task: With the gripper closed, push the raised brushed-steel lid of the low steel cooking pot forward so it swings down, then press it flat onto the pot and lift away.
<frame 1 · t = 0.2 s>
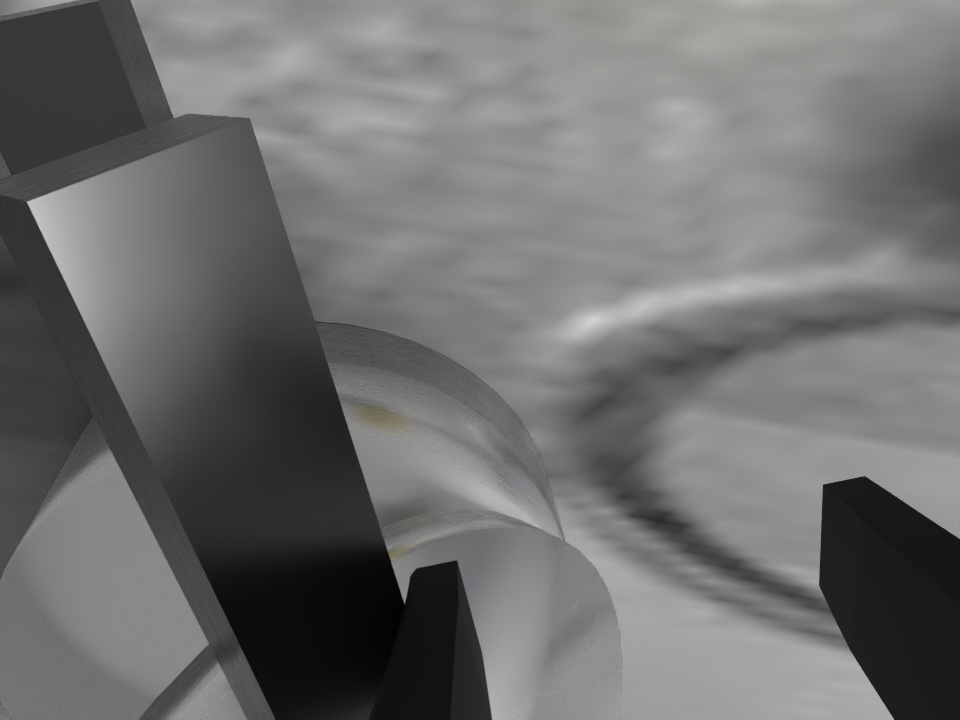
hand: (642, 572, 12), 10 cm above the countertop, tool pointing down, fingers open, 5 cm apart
pot: (316, 534, 24), on the countertop
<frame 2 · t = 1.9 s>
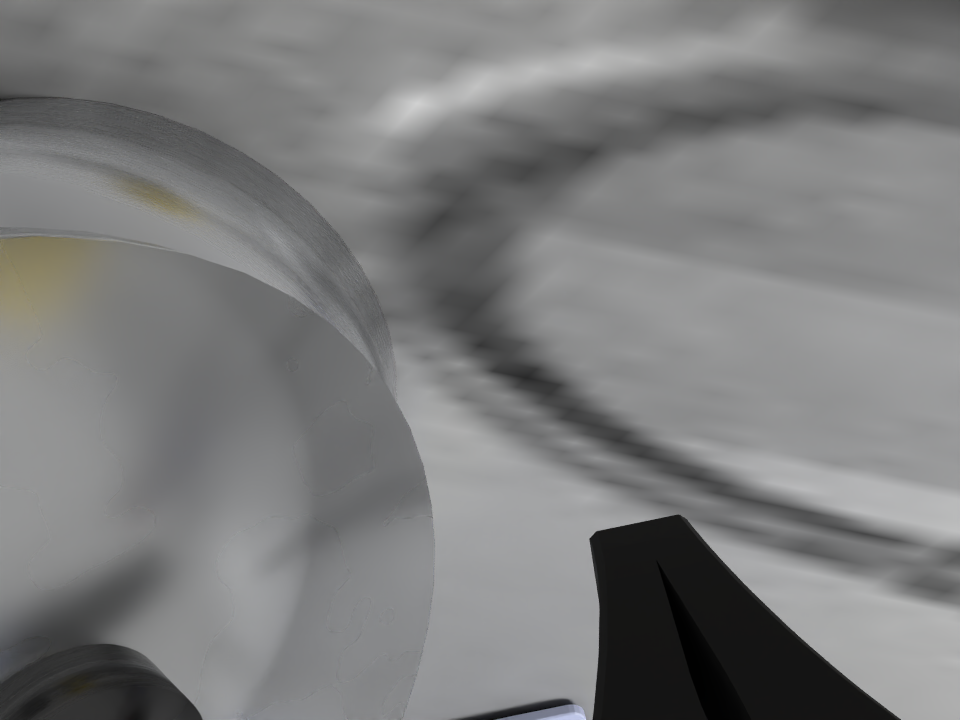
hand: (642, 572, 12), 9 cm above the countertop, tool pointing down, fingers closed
pot: (112, 388, 20), on the countertop
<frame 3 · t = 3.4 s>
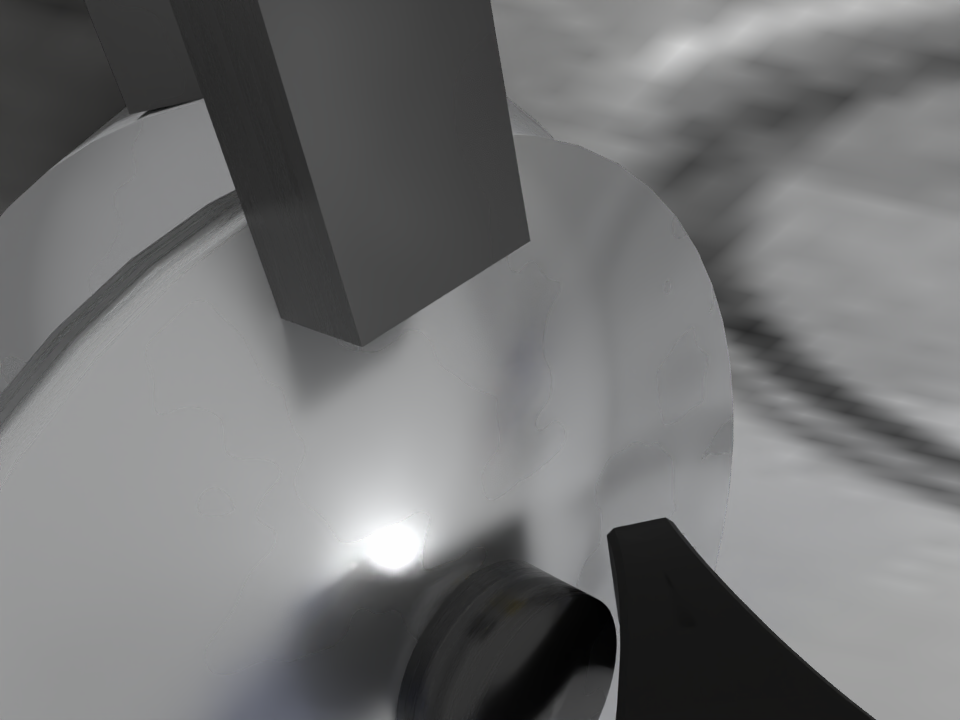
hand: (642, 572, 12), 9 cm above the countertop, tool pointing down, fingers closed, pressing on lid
lid: (430, 466, 9), point 10 cm above the countertop, hinge at 41.5°, touching gripper
pot: (343, 341, 20), on the countertop
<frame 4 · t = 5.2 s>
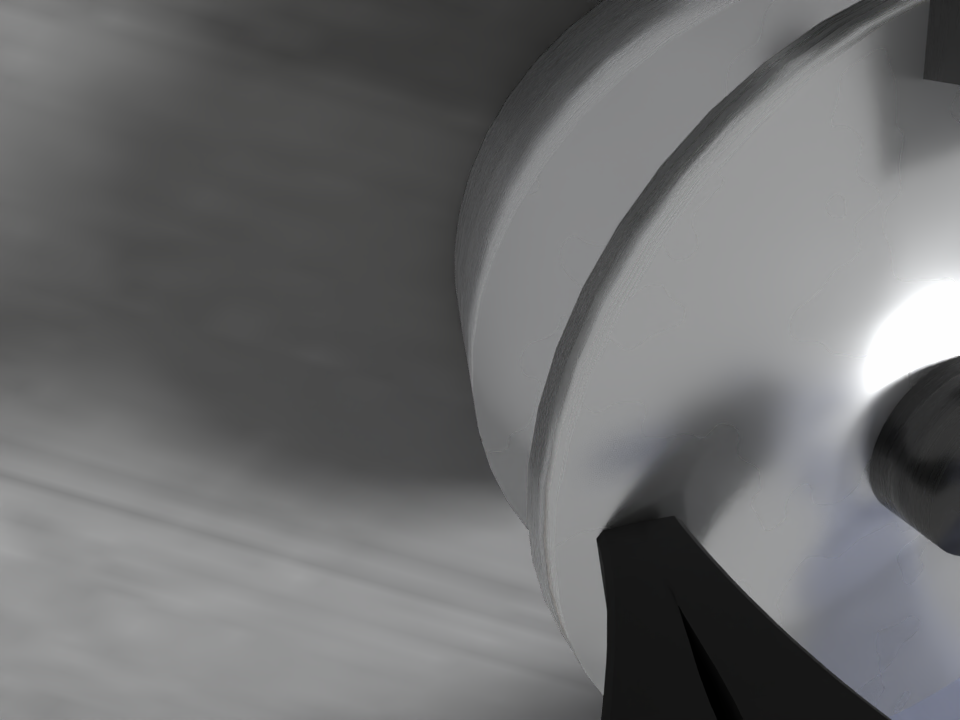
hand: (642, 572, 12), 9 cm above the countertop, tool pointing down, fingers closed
pot: (738, 257, 20), on the countertop
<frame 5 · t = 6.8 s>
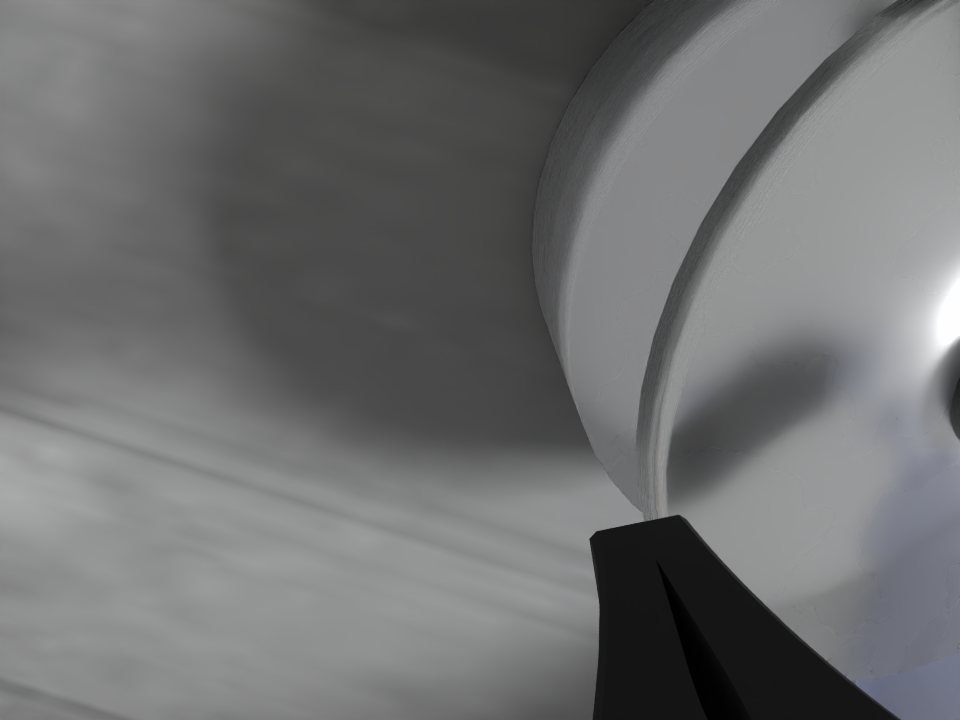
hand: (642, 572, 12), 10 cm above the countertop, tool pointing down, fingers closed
pot: (803, 226, 21), on the countertop
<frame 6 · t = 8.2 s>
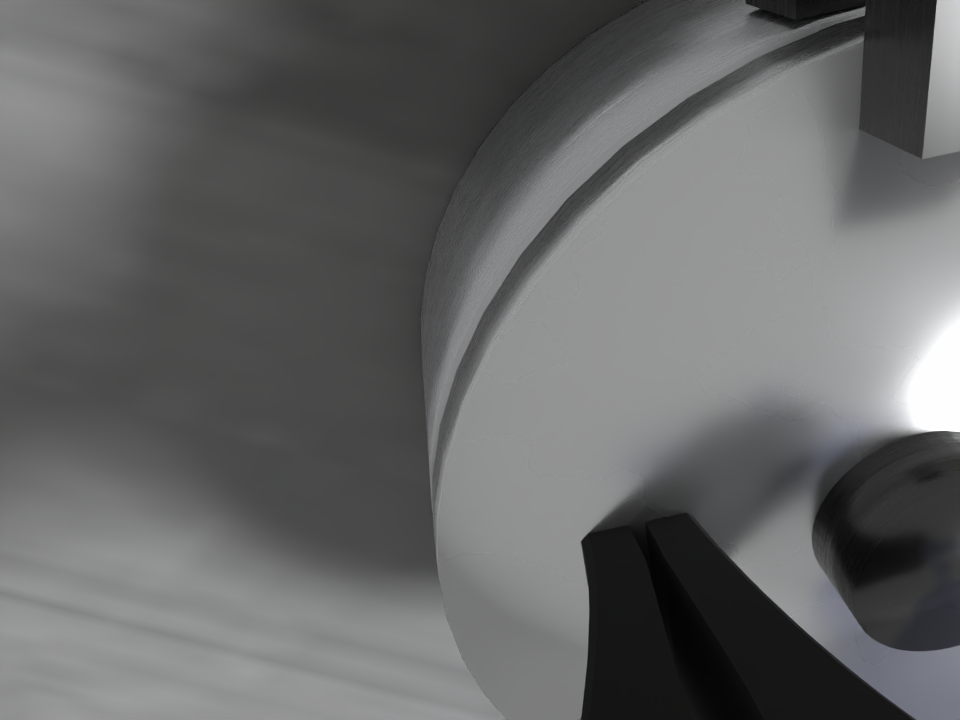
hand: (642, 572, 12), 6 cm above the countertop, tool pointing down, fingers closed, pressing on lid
lid: (938, 310, 10), point 6 cm above the countertop, hinge at 1.3°, touching gripper
pot: (750, 325, 17), on the countertop
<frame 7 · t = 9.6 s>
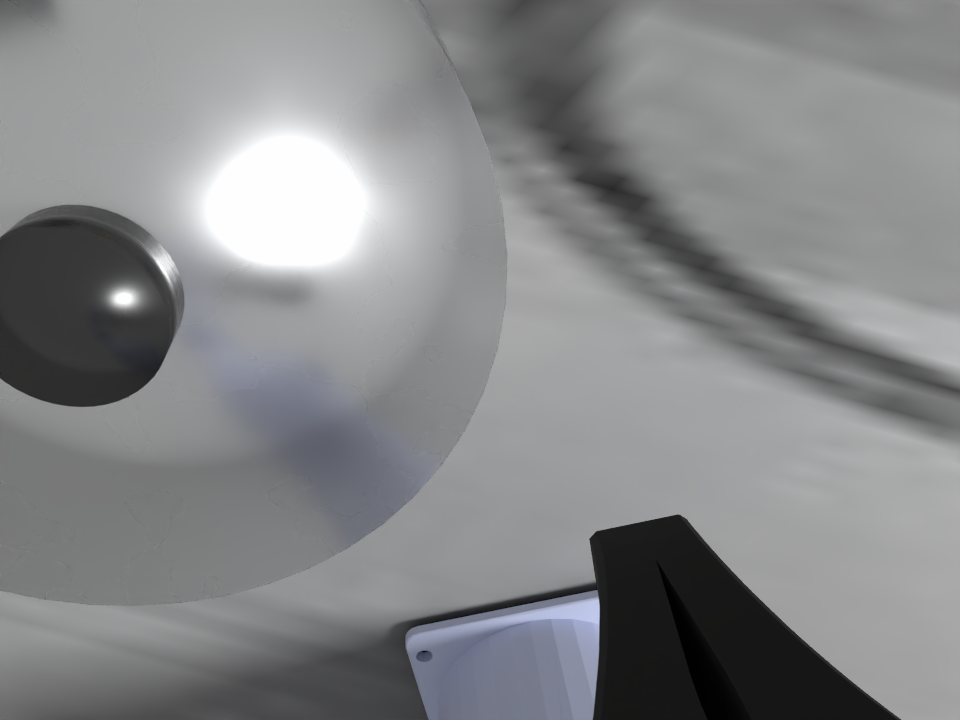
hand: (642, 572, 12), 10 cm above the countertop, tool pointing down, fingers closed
pot: (174, 185, 19), on the countertop
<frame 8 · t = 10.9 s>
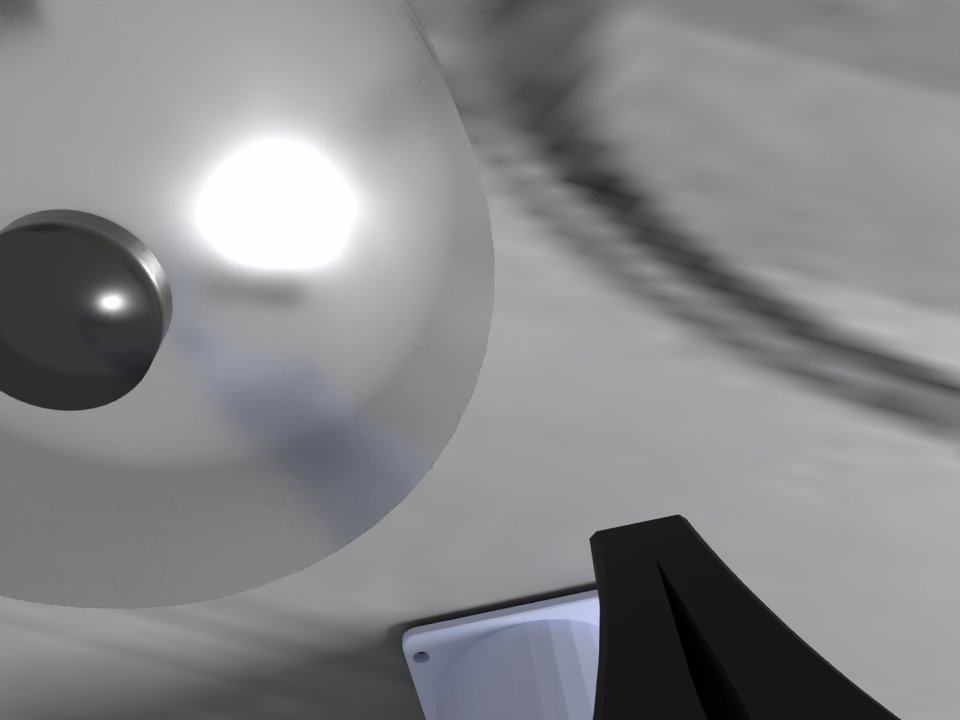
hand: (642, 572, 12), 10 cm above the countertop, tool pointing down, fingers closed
pot: (166, 189, 19), on the countertop
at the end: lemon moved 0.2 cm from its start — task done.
